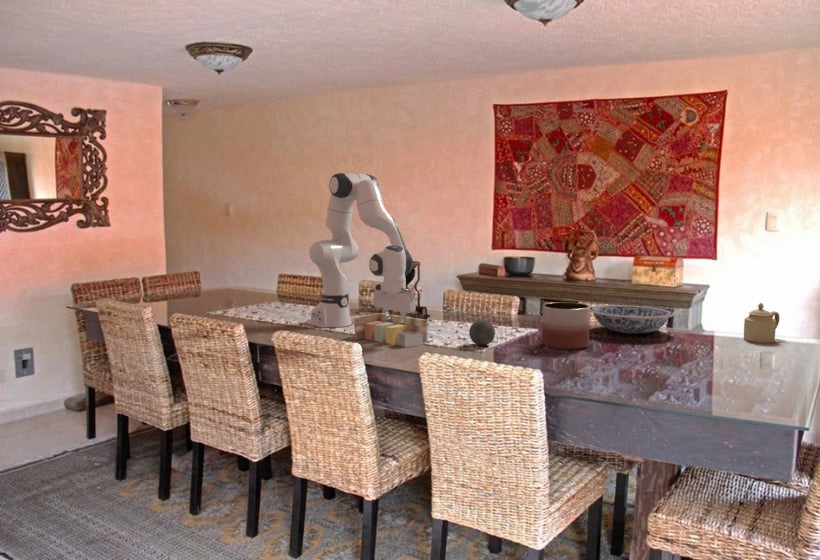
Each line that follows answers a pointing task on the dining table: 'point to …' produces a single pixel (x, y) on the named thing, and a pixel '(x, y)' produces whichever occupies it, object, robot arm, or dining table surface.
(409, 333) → the block
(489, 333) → the decorative ball
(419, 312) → the brown owl figurine
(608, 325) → the ceramic bowl
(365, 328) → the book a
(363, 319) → the shelf corner
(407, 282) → the hourglass
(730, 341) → the dining table surface
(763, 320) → the sugar bowl
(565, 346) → the planter
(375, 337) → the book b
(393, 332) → the book
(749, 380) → the dining table surface
